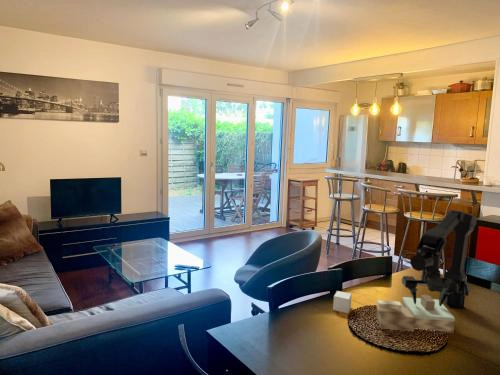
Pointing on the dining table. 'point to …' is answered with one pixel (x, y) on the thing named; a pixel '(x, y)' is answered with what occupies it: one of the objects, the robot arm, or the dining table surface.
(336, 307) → the white cube block
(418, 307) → the lid
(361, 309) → the dining table surface
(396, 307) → the beige rectangular block
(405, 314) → the beige rectangular tray
